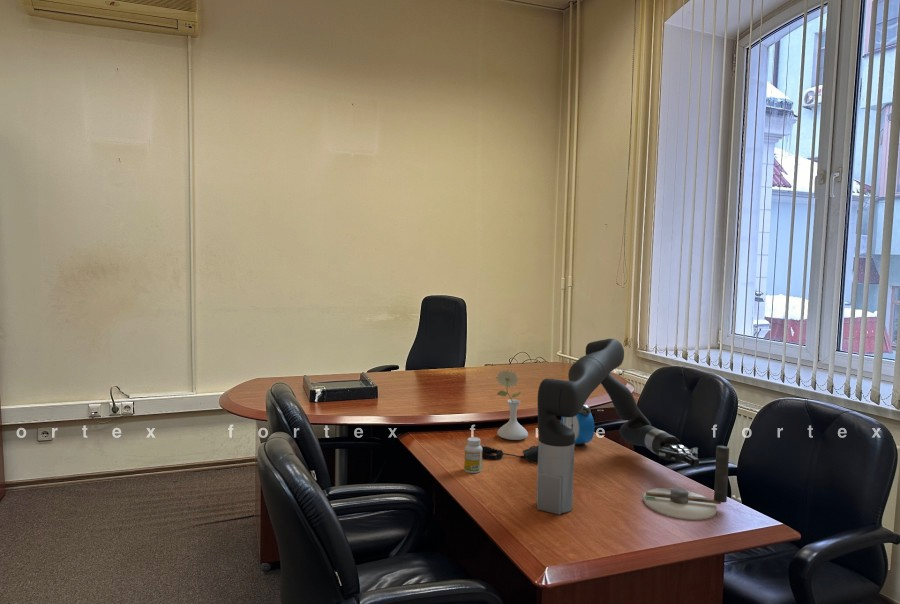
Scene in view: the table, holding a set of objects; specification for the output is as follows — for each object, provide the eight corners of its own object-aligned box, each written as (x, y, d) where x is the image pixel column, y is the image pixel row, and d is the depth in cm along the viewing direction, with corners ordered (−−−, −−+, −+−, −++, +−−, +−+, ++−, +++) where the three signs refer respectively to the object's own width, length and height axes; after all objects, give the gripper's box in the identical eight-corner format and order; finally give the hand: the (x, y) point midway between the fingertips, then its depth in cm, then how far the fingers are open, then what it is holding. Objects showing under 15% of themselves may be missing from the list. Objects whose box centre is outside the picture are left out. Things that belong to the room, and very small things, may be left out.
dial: (646, 499, 148) (649, 443, 147) (645, 493, 152) (647, 438, 152) (728, 508, 144) (731, 450, 143) (724, 502, 148) (727, 445, 147)
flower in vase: (533, 437, 207) (535, 370, 206) (520, 444, 198) (522, 374, 196) (501, 431, 214) (503, 366, 213) (487, 438, 204) (489, 370, 203)
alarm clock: (560, 438, 206) (561, 398, 205) (574, 437, 208) (575, 397, 207) (579, 449, 194) (581, 406, 193) (594, 448, 196) (596, 405, 195)
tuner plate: (713, 526, 136) (713, 520, 136) (637, 509, 145) (637, 504, 145) (718, 500, 152) (719, 496, 152) (649, 486, 161) (649, 482, 161)
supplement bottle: (471, 466, 175) (472, 435, 174) (485, 470, 171) (486, 439, 171) (460, 470, 170) (461, 439, 170) (474, 474, 167) (475, 442, 167)
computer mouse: (569, 466, 177) (570, 449, 177) (468, 460, 181) (469, 443, 181) (567, 456, 187) (567, 440, 187) (471, 451, 190) (471, 435, 190)
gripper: (643, 432, 172) (675, 450, 155) (682, 431, 174) (718, 449, 157) (642, 456, 172) (674, 477, 155) (681, 455, 175) (717, 475, 158)
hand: (696, 462), depth 156 cm, fingers closed
